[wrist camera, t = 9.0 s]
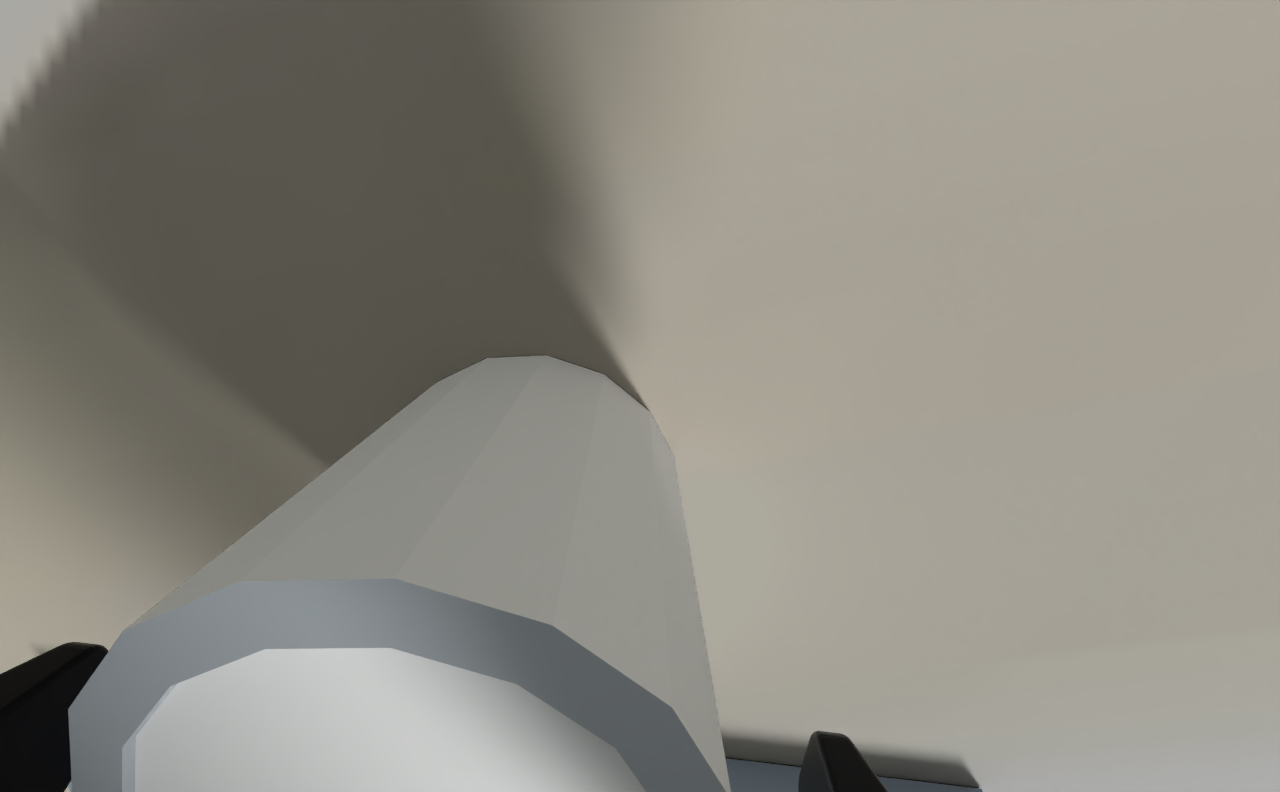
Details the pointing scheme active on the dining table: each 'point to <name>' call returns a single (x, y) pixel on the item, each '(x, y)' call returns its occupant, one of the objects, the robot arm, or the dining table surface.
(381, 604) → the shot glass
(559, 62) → the dining table surface
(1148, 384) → the dining table surface
